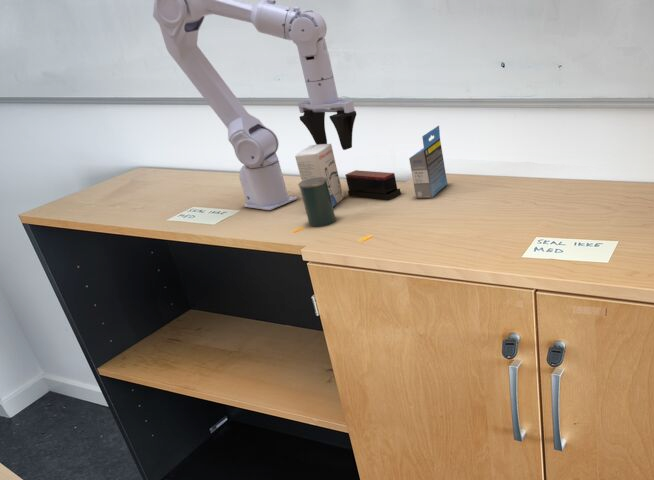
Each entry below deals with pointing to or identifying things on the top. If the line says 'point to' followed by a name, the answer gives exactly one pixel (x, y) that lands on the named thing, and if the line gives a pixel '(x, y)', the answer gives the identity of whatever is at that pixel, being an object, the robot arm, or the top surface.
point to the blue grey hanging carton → (429, 167)
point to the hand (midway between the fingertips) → (334, 148)
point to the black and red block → (372, 185)
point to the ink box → (320, 168)
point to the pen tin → (317, 201)
